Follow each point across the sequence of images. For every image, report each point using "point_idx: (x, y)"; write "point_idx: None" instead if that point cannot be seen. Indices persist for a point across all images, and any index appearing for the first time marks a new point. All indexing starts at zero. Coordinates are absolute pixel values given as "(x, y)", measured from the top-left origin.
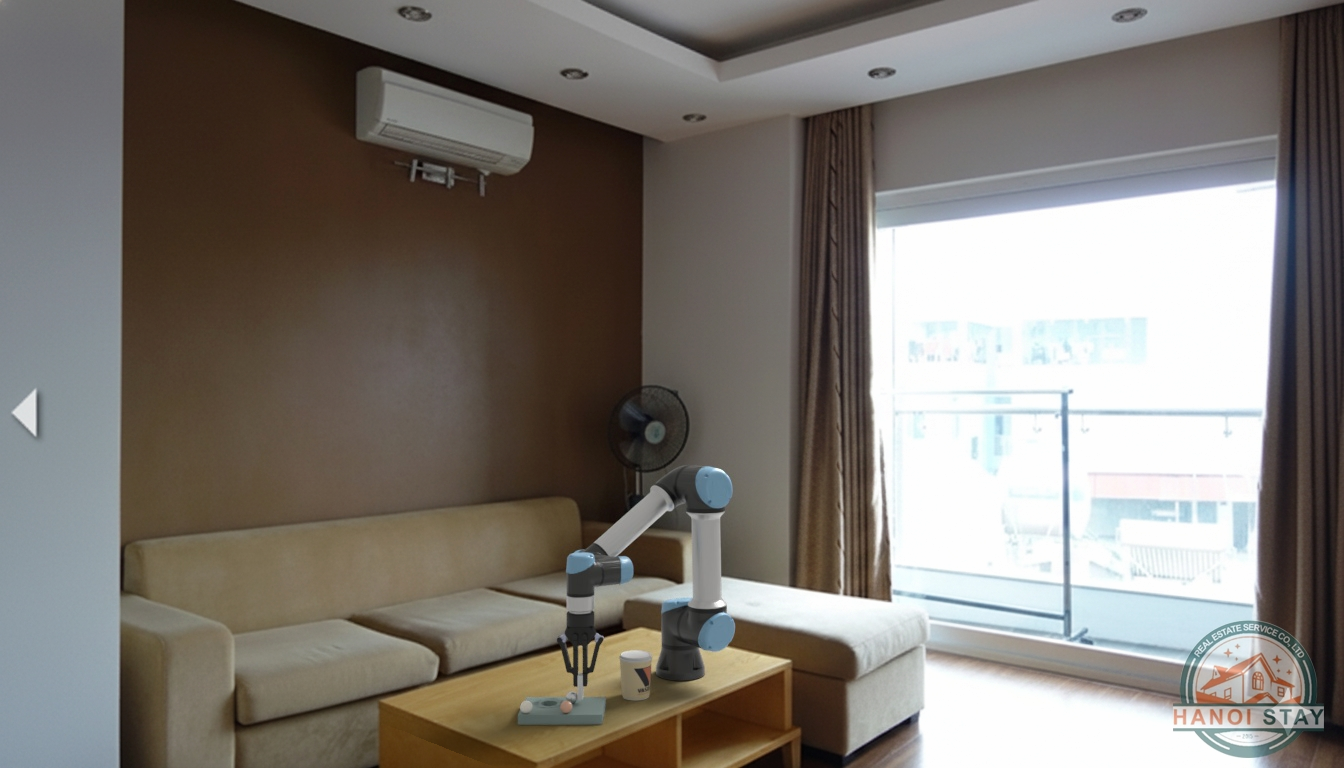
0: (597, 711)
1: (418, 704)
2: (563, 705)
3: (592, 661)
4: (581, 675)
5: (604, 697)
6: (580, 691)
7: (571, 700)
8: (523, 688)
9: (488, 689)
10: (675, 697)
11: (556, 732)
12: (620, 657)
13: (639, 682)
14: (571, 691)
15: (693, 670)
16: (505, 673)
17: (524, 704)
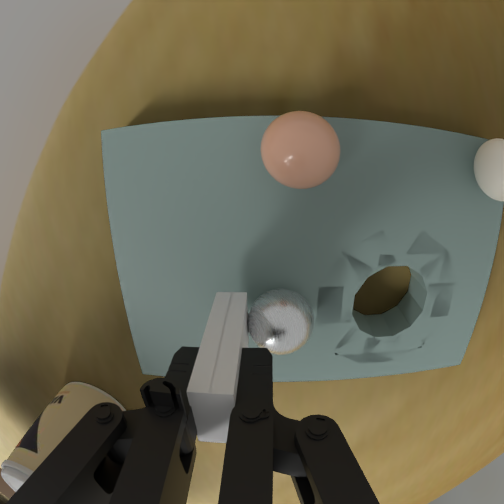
0: (128, 178)
1: None
2: (318, 117)
3: (65, 473)
4: (198, 395)
5: (145, 367)
6: (223, 318)
7: (281, 290)
8: (419, 454)
9: (488, 430)
10: (13, 380)
11: (320, 22)
12: None
13: (46, 416)
14: (285, 342)
15: None
16: (428, 494)
17: None
